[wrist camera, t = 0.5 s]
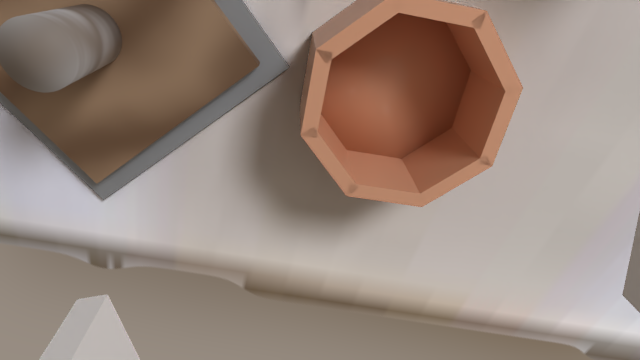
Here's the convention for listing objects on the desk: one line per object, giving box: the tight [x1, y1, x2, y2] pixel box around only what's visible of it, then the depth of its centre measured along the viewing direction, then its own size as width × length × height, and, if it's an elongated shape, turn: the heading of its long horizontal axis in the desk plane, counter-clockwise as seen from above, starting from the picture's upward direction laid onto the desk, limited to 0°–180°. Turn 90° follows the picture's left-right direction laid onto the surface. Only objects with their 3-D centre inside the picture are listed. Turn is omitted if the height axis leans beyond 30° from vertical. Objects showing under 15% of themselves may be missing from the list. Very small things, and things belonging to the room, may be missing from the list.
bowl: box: [300, 0, 523, 207], centre depth 30 cm, size 13×13×7 cm
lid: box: [0, 0, 260, 183], centre depth 27 cm, size 16×16×8 cm
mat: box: [0, 0, 289, 200], centre depth 31 cm, size 19×19×1 cm
